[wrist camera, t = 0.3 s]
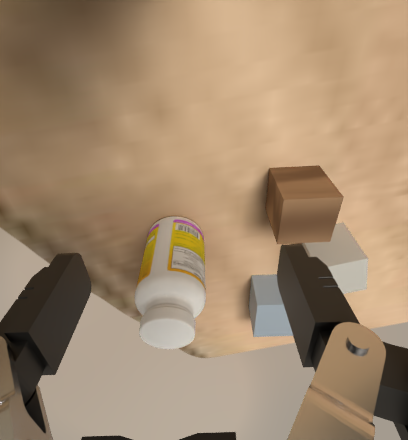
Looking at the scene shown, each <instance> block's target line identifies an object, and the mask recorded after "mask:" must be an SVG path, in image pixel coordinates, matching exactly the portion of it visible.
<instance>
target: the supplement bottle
mask: <svg viewBox="0 0 408 440" xmlns="http://www.w3.org/2000/svg"><path fill="white" fill-rule="evenodd" d="M205 301H206V288H205V256H204V236H203V233H202V231H201V229H200V228H199V226H198V225H197V224H196V223H194V222H193V221H191V220H189V219H187V218H184V217H179V216H171V217H166V218H163V219H161V220H159V221H157V222H156V223H155V224H154V225H153V226H152V227H151V229H150V231H149V234H148V238H147V242H146V247H145V251H144V256H143V260H142V265H141V269H140V274H139V278H138V283H137V287H136V291H135V304H136V307H137V309H138V310H139V312H140V313H141V314H142V315H143V316H142V318H141V322H140V330H139V335H140V337H141V339H142V340H143V341H144V342H145V343H147V344H149V345H151V346H153V347H156V348H161V349H176V348H181V347H184V346H186V345H188V344H189V343H191V342H192V341H193V339H194V337H195V325H196V322H195V319H194V318H196V317H197V316H198V315H199V314H200V313H201V311H202V310H203V308H204V305H205Z"/></svg>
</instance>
